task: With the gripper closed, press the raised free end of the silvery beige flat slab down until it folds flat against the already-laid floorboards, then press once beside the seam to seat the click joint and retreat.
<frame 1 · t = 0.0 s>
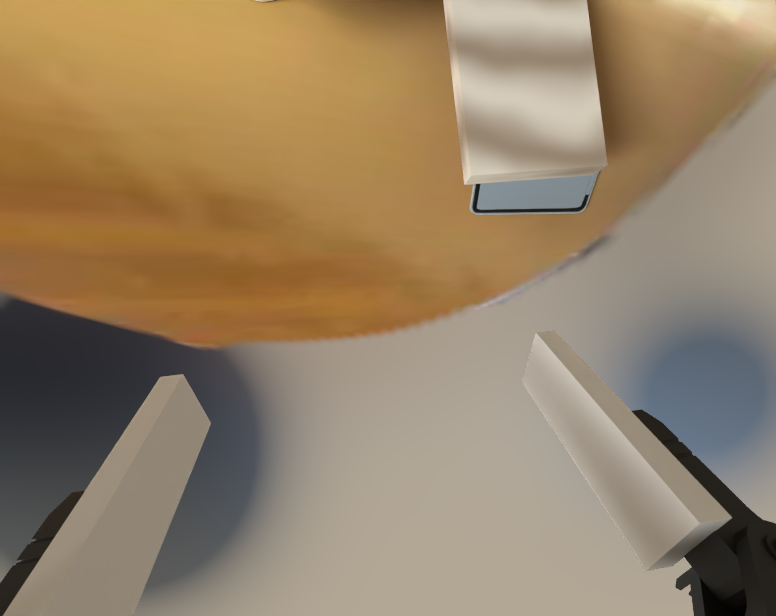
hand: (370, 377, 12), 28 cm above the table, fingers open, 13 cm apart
smartphone: (531, 181, 38), on the table
silvery beige flat slab: (520, 57, 25), point 7 cm above the table, hinge at 35.0°
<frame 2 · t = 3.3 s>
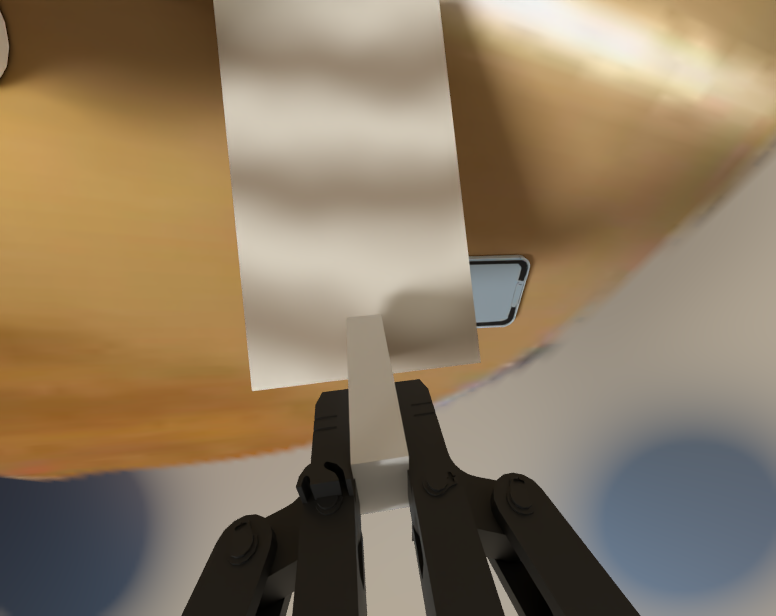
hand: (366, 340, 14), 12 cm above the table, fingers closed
smartphone: (439, 291, 29), on the table
silvery beige flat slab: (349, 186, 16), point 7 cm above the table, hinge at 35.0°, touching gripper
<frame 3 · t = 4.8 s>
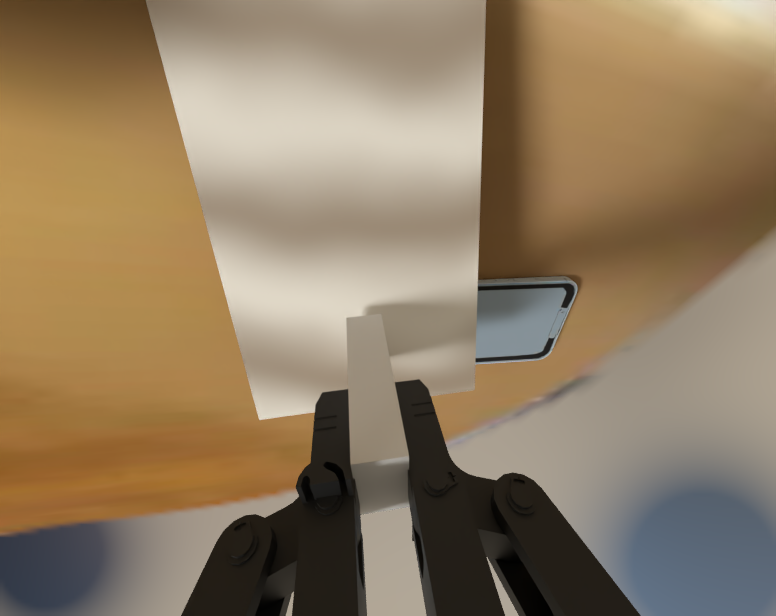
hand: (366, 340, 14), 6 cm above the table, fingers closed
smartphone: (460, 319, 23), on the table
silvery beige flat slab: (347, 206, 13), point 3 cm above the table, hinge at 14.8°, touching gripper
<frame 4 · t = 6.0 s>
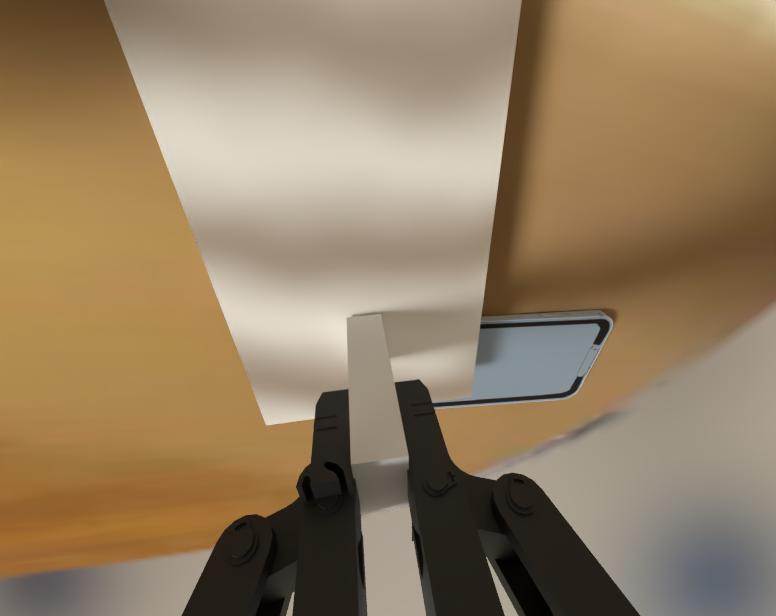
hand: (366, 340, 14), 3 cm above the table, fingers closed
smartphone: (477, 356, 20), on the table
silvery beige flat slab: (351, 229, 12), point 1 cm above the table, hinge at 3.4°, touching gripper
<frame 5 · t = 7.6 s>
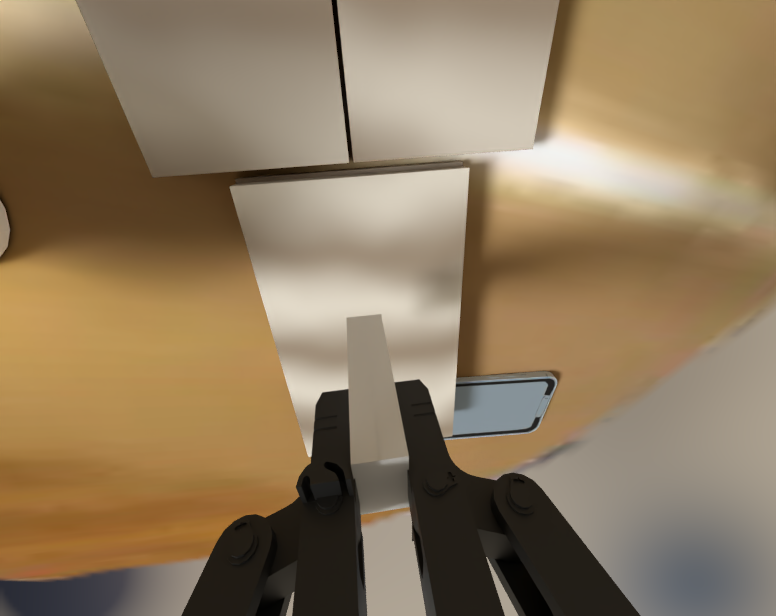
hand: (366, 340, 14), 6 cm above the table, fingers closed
smartphone: (459, 402, 27), on the table
silvery beige flat slab: (369, 336, 20), point 1 cm above the table, hinge at 3.4°
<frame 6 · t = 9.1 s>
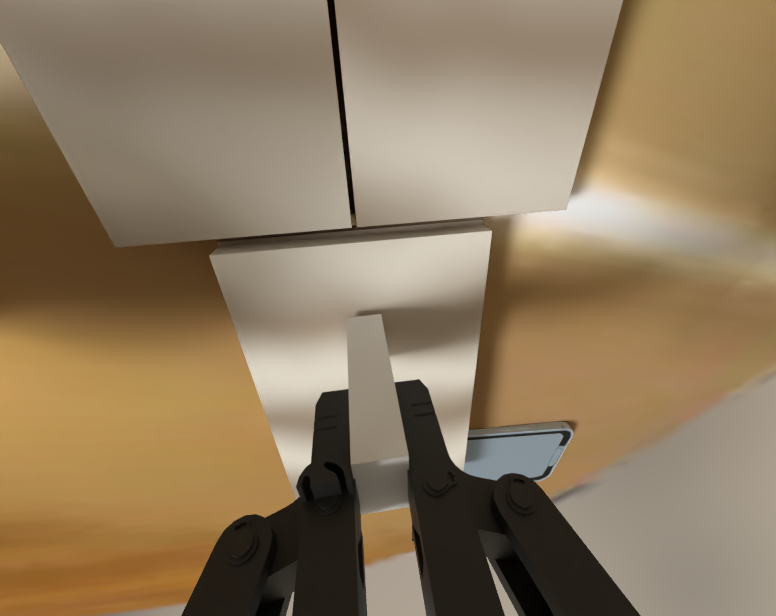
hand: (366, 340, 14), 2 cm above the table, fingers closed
smartphone: (467, 451, 25), on the table
silvery beige flat slab: (372, 400, 17), point 1 cm above the table, hinge at 3.4°, touching gripper
laid floor: (333, 24, 10), on the table
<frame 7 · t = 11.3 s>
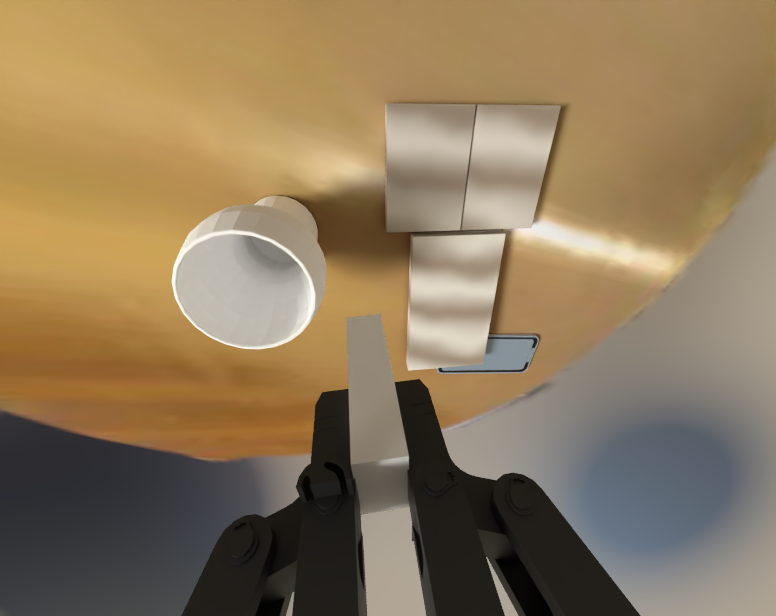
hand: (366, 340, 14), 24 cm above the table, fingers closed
smartphone: (484, 351, 48), on the table
silvery beige flat slab: (450, 305, 41), point 1 cm above the table, hinge at 3.4°
laid floor: (463, 171, 34), on the table
cup: (282, 231, 35), on the table
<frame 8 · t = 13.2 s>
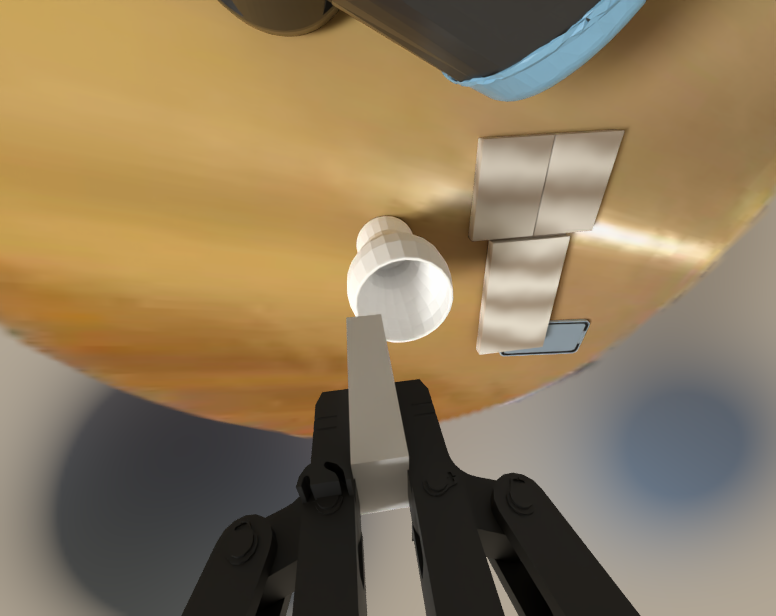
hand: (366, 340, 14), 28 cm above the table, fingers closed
smartphone: (541, 335, 56), on the table
silvery beige flat slab: (518, 297, 48), point 1 cm above the table, hinge at 3.4°
laid floor: (536, 186, 40), on the table
cup: (385, 243, 42), on the table
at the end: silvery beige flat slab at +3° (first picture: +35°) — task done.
